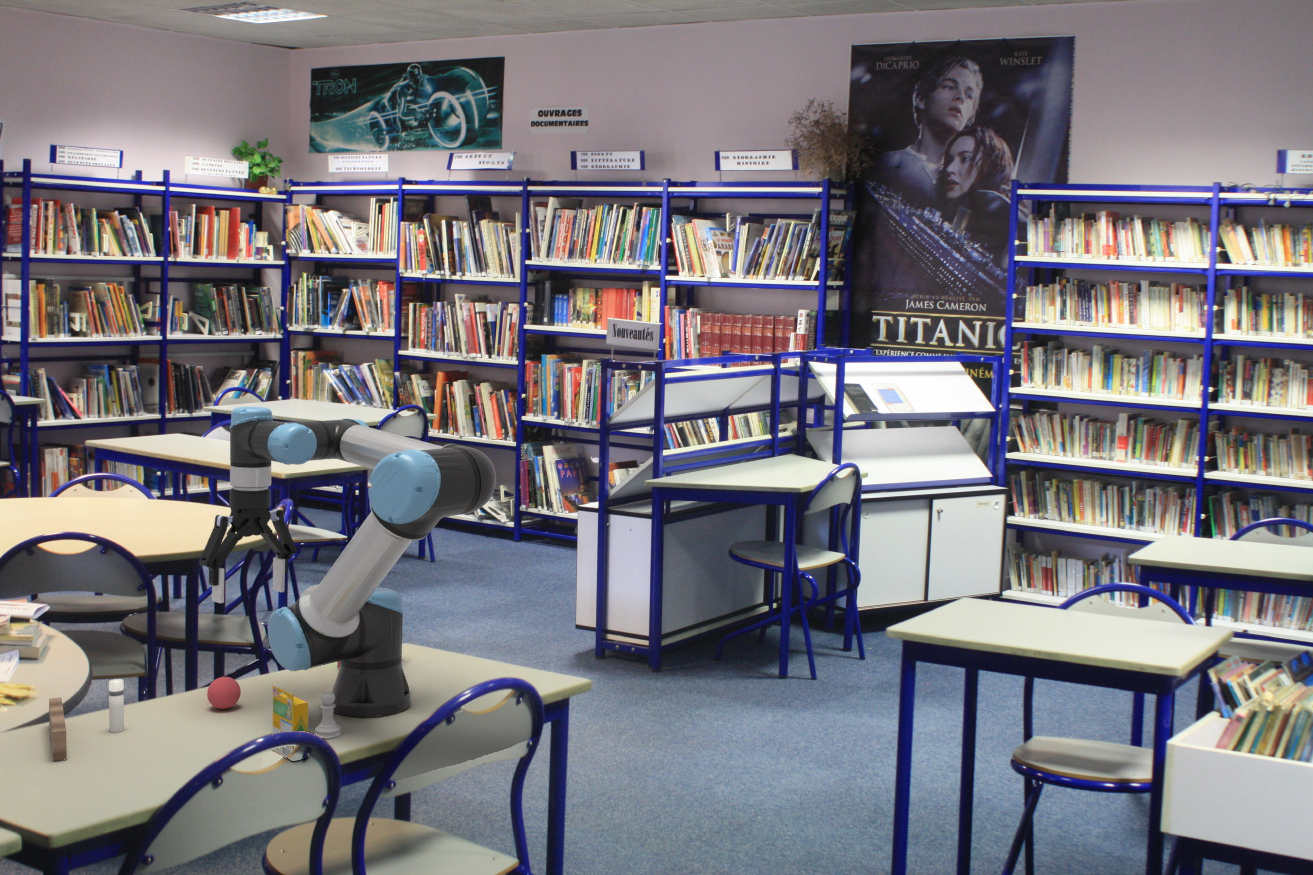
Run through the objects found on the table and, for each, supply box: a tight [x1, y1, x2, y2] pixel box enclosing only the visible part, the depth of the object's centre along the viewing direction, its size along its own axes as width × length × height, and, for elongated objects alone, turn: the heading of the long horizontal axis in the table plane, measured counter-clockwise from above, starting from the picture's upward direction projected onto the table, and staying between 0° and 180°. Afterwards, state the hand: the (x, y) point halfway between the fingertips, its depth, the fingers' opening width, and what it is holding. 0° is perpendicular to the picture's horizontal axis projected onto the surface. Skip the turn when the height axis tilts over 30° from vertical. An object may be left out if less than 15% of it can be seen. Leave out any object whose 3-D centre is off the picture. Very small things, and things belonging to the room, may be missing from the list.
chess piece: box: [314, 691, 342, 740], centre depth 218 cm, size 5×5×8 cm
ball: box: [206, 676, 242, 710], centre depth 232 cm, size 6×6×6 cm
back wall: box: [48, 697, 67, 762], centre depth 211 cm, size 20×2×5 cm, turn 28°
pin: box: [108, 678, 125, 733], centre depth 218 cm, size 2×2×9 cm
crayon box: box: [271, 685, 309, 759], centre depth 208 cm, size 7×3×12 cm, turn 44°
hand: (248, 596), depth 236 cm, fingers open, 13 cm apart
